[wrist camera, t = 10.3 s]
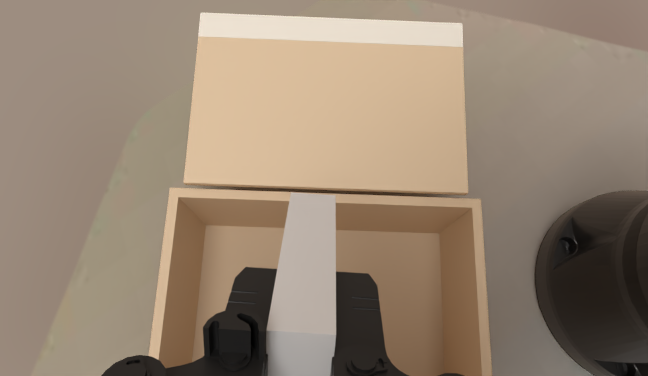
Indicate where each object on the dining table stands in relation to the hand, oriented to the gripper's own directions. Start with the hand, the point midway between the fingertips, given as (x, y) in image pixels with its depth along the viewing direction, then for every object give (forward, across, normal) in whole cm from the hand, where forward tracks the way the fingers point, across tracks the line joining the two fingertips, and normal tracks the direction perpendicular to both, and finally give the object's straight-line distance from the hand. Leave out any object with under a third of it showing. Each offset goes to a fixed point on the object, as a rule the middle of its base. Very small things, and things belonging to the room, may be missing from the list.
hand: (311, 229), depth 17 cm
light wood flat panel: (+14, +1, -5) cm, 15 cm away
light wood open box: (+15, +1, -17) cm, 23 cm away
